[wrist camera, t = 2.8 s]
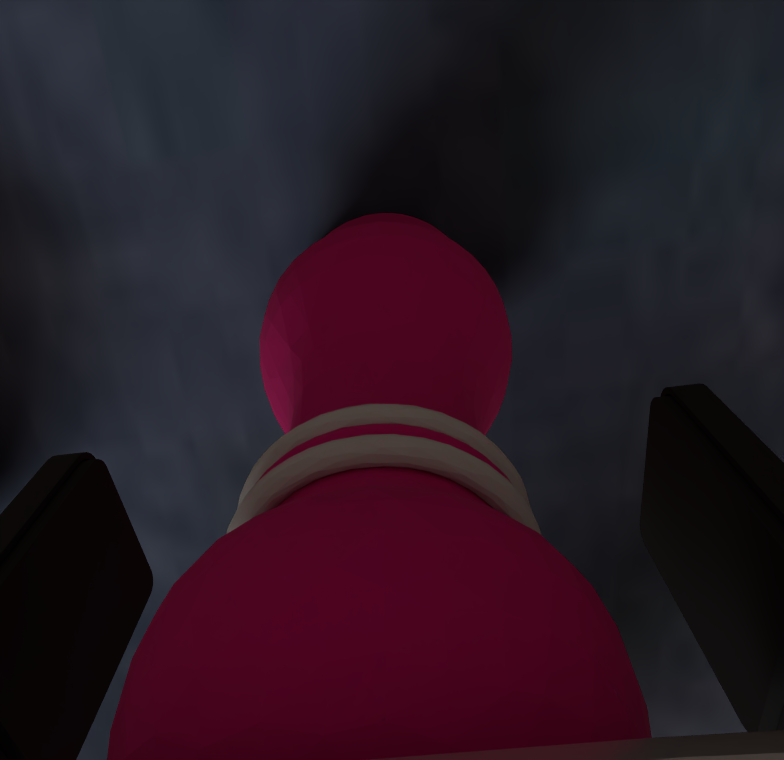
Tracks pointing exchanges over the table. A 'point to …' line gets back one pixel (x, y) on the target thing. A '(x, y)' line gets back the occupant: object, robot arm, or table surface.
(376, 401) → the pepper mill
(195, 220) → the table surface
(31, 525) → the robot arm
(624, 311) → the table surface
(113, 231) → the table surface
